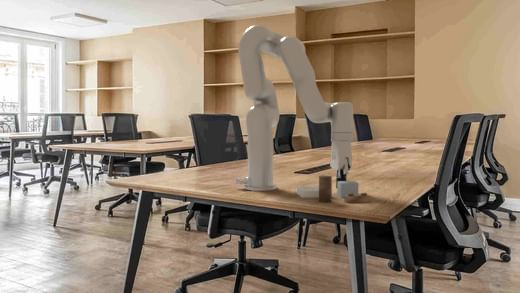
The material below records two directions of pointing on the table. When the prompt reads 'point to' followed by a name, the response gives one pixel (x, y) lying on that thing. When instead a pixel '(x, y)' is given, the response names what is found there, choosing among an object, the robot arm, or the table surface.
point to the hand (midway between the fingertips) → (341, 188)
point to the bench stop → (357, 198)
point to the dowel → (325, 188)
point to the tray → (308, 191)
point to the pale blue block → (346, 188)
